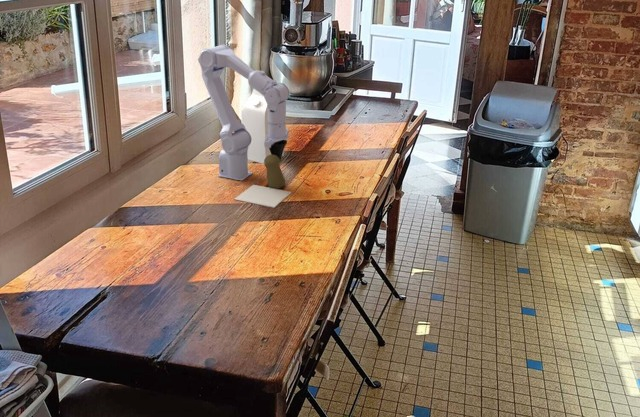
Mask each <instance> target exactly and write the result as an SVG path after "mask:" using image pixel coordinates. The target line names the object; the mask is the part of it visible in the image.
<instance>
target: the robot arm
mask: <svg viewBox="0 0 640 417" xmlns="http://www.w3.org/2000/svg"><path fill="white" fill-rule="evenodd" d="M197 61H198V64H199V66H200V68H201V77H202V81H203V82H204V86H205V87H206V90H207V93H208V95H209V97H210V99H211V102H212V104H213V106H214V109H215V111H216V114H217V117H218V119H219V121H220V125H221V126H222V127H221V130H220V132H219V137H220V141H221V148H222V150H221V151H220V152H219V155H218V172H219V173H218V175H217V177H220V178H225V179H231V180H237V181H241V182H243V181H244V180H246V179H247V178H248V177H250V176H251V175H252V174H253V171H250V170H249V169H248V168H249V165H248V163H249V162H248V161H249V160H248V155H247V150H248V146H249V145H250V144H251V141H252V139H251V135H250V133H249V132H248V131H247V130H246V128H245V126H244V124H242V123H241V121H239V120H238V118H237V115H236V114H235V111H234V109H233V106H232V104H231V101H230V99H229V96H228V93H227V90H226V88H225V85H224V84H223V81H222V78H221V75H222V73H223V70H224V69H226V68H229V69H231V70H233V71H234V72H236V73H237V74H239V75H240V76H242V77H244V78H245V79H247V80H248V81H247V82H248V86H250V87H251V88H252V89H255V90H257V91H258V92H259V93H261V94H262V95H263V96H264V98H265V101H266V102H267V108H268V135H267V138H266V140H265V141H264V147H267V148H269V150H270V152H271V155H276V156H278V157H279V159H280V162H281V161H282V157H283V156H282V154H283V150H284V151H285V147H286V146H287V144H288V140H289V139H290V136H289V135H290V130H289V129H288V128H286V126H287V120H286V119H287V100H288V99H289V98H290V89H289V88H288V86H287V85H286V84H285V83H283V82H279V83H278V82H277V81H276V80H275V79H272V78H270V77H269V76H268V75H267V74H266V72H265V71H264V70H259V69H258V70H254V69H253V68H251V67H250V66H249V65H248V64H247V63H246V62H244V61H243V60H242V59H241V58H240V57H239V56H238V55H236V53H235V51H234V50H233V49H232V48H229V46H227V45H226V44H220V45H216V46H213V47H209V48H203V49H202V50H201V51H200V53H199V56H198V58H197Z"/></svg>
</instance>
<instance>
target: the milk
mask: <svg viewBox="0 0 640 417" xmlns="http://www.w3.org/2000/svg"><path fill="white" fill-rule="evenodd" d="M240 117H241V119H240V123H242V124H244V126H245V128H246V130H247V131H248V132H249V133H250V135H251V139H252V141H251V144H250V145H249V146H248V150H247V155H248V161H253V162H254V163H255V162H256V163H259V164H264V159H265V158H266V157H267V156H268V155H271V152H270V150H269V148H267V147H264V141H265V140H266V138H267V135H268V108H267V102H266V101H265V98H264V96H263V95H262V94H261V93H259V92H258V91H257V90H255V89H254V88H252V91H251V95H250V96H249V97H248V99H247V100H246V101H245V103H244V104H243V107H242V109H241V115H240ZM284 156H285V149H284V150H283V154H282V157H284Z"/></svg>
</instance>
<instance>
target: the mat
mask: <svg viewBox="0 0 640 417" xmlns="http://www.w3.org/2000/svg"><path fill="white" fill-rule="evenodd" d="M291 194H292V191H289V190H283V189H280V188H278V189H273V188H270V187H269V186H268V187H266V186H262V185H256V184H252V185H251V186H250V187H248V188H246V190H244V191H243V192H241V193H240V194H239V195H238V196H236V197H235V198H234V199H233V200H234V201H237V202H242V203H249V204H253V205H258V206H262V207H268V208H273V209H274V208H276V207H277V206H278V205H279V204H280V203H282V201H284V200H285V199H286V198H287V197H288V196H289V195H291Z"/></svg>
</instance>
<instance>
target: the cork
mask: <svg viewBox="0 0 640 417" xmlns="http://www.w3.org/2000/svg"><path fill="white" fill-rule="evenodd" d="M280 164H281V161H280V159H279V157H278V156H276V155H268V156H267V157H266V158H265V159H264V167H265V168H266V177H267V178H266V180H267V186H268V188H273V189H281V188H282V187H283V186H285V185H286V179H285V176H284V173H283V171H282V169H281V166H280Z"/></svg>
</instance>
